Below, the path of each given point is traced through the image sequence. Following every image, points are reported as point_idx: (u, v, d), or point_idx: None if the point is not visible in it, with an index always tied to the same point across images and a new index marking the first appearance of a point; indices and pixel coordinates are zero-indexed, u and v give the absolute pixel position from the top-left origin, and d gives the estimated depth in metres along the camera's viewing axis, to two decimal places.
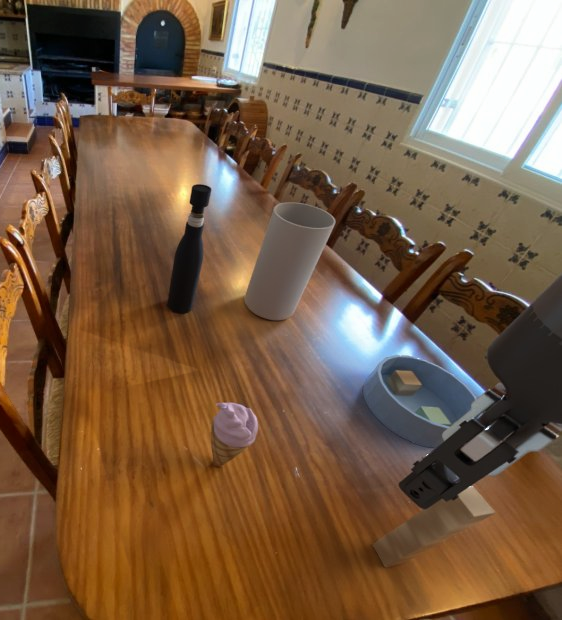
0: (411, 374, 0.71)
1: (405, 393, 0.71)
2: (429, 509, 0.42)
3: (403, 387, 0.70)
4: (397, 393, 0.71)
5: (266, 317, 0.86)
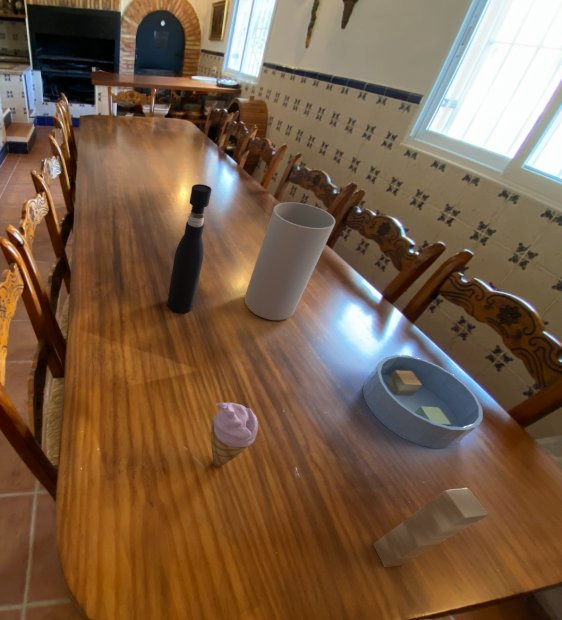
0: (411, 374, 0.71)
1: (405, 393, 0.71)
2: (424, 509, 0.42)
3: (403, 387, 0.70)
4: (397, 393, 0.71)
5: (266, 317, 0.86)
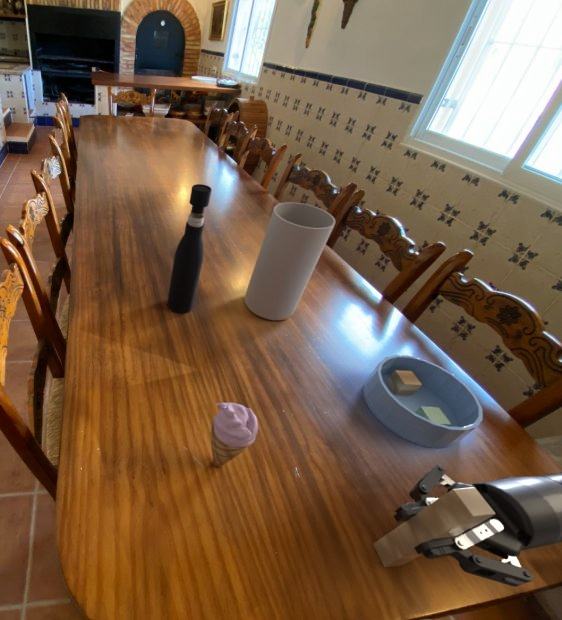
0: (411, 374, 0.71)
1: (405, 393, 0.71)
2: (429, 508, 0.42)
3: (403, 387, 0.70)
4: (397, 393, 0.71)
5: (266, 317, 0.86)
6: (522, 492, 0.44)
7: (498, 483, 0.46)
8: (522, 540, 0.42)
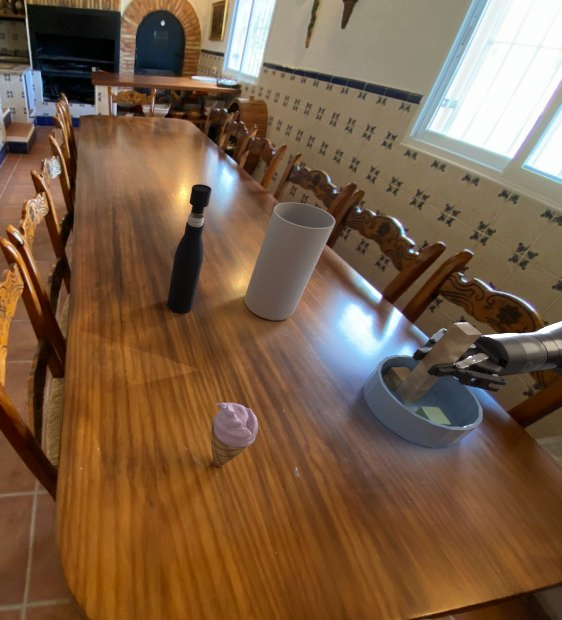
0: (407, 370, 0.72)
1: None
2: (438, 344, 0.61)
3: None
4: (395, 390, 0.71)
5: (266, 317, 0.86)
6: (501, 337, 0.64)
7: (485, 335, 0.65)
8: (501, 365, 0.62)
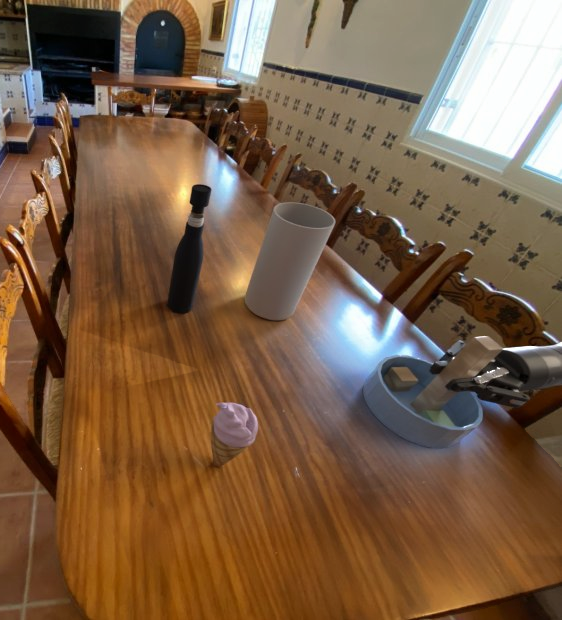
0: (407, 370, 0.72)
1: (402, 389, 0.72)
2: (456, 358, 0.59)
3: (401, 384, 0.70)
4: (395, 390, 0.71)
5: (266, 317, 0.86)
6: (522, 350, 0.61)
7: (504, 348, 0.63)
8: (522, 380, 0.59)
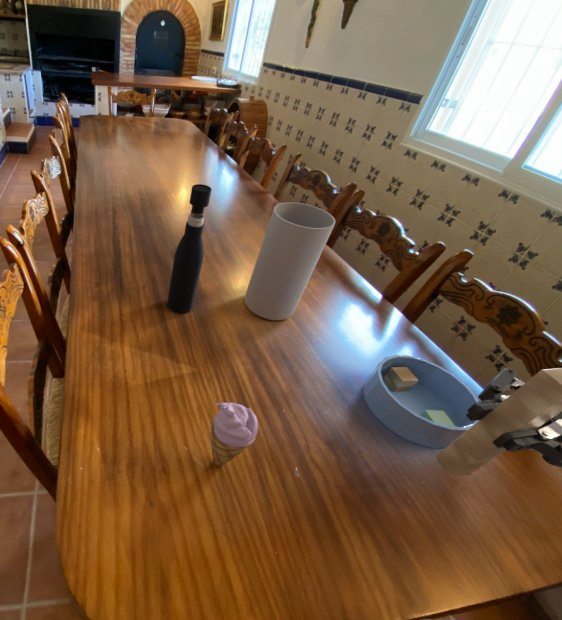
0: (407, 370, 0.72)
1: (402, 389, 0.72)
2: (510, 399, 0.39)
3: (401, 384, 0.70)
4: (395, 390, 0.71)
5: (266, 317, 0.86)
6: None
7: None
8: None
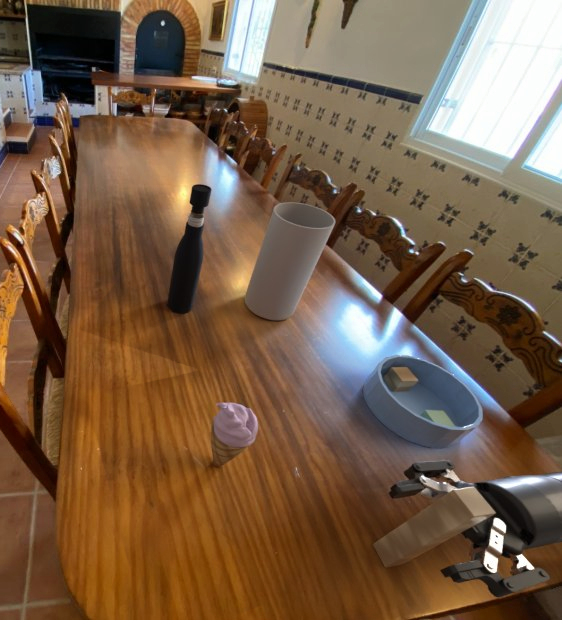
0: (407, 370, 0.72)
1: (402, 389, 0.72)
2: (430, 509, 0.42)
3: (401, 384, 0.70)
4: (395, 390, 0.71)
5: (266, 317, 0.86)
6: (524, 491, 0.44)
7: (500, 482, 0.46)
8: (524, 539, 0.42)
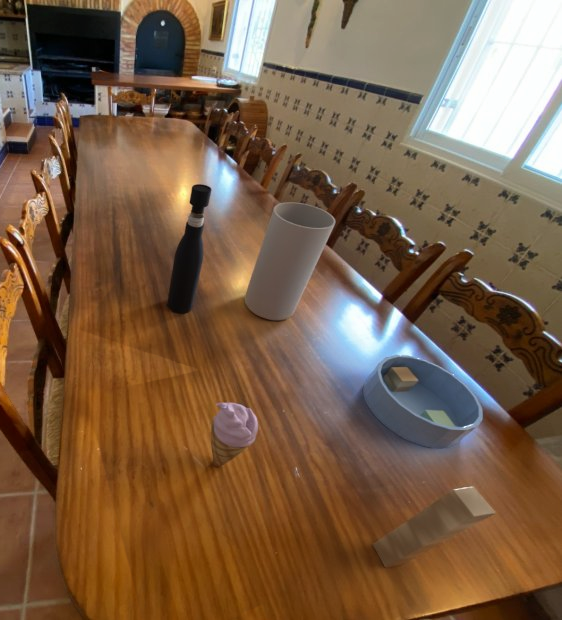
0: (407, 370, 0.72)
1: (402, 389, 0.72)
2: (429, 509, 0.42)
3: (401, 384, 0.70)
4: (395, 390, 0.71)
5: (266, 317, 0.86)
6: None
7: None
8: None
